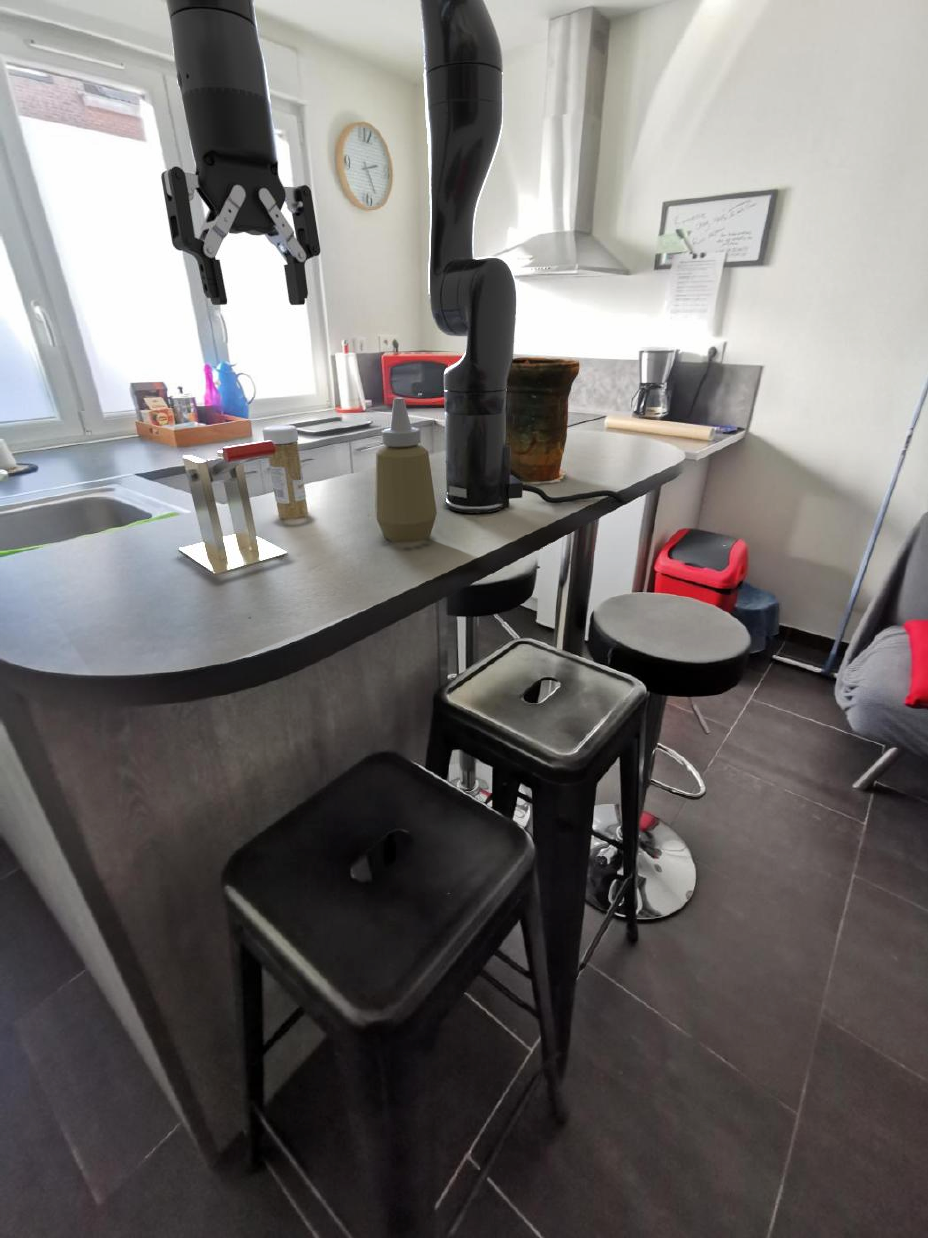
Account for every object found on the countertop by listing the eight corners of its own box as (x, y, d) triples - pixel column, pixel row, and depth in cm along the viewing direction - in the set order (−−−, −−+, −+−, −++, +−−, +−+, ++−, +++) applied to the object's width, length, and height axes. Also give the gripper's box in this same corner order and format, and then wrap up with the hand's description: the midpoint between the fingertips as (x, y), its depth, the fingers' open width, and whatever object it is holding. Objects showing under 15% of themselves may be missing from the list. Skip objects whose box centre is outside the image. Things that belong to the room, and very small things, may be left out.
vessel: (584, 482, 101) (595, 360, 92) (509, 489, 98) (512, 363, 89) (552, 465, 113) (559, 355, 104) (484, 470, 110) (485, 357, 101)
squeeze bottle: (390, 555, 71) (378, 404, 63) (369, 536, 77) (355, 396, 69) (447, 544, 74) (443, 399, 66) (423, 527, 81) (416, 392, 72)
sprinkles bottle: (314, 522, 83) (301, 427, 77) (283, 528, 81) (267, 430, 75) (303, 514, 87) (290, 422, 80) (274, 519, 84) (257, 426, 78)
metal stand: (289, 562, 70) (271, 456, 64) (217, 583, 64) (190, 470, 58) (248, 540, 77) (229, 443, 71) (181, 558, 71) (153, 455, 65)
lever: (278, 457, 58) (271, 433, 58) (231, 465, 55) (223, 440, 55) (235, 480, 68) (228, 460, 68) (193, 488, 65) (186, 467, 65)
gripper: (157, 64, 44) (206, 304, 51) (318, 103, 52) (339, 303, 60) (127, 90, 48) (176, 306, 56) (279, 122, 57) (303, 305, 65)
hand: (260, 304), depth 58 cm, fingers open, 8 cm apart
